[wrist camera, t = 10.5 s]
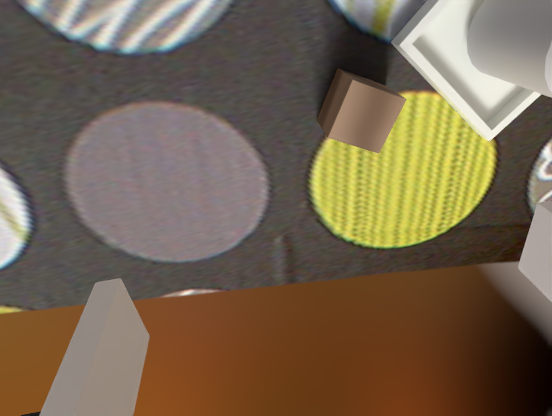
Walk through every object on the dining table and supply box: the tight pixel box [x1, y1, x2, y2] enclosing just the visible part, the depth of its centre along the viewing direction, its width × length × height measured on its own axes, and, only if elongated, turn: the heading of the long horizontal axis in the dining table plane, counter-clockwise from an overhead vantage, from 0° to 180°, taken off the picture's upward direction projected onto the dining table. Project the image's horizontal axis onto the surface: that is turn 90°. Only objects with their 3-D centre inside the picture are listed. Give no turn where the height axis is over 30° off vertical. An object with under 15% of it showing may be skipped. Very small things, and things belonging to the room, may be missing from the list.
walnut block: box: [317, 68, 406, 153], centre depth 33 cm, size 5×5×5 cm
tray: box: [391, 0, 541, 141], centre depth 32 cm, size 14×14×2 cm
